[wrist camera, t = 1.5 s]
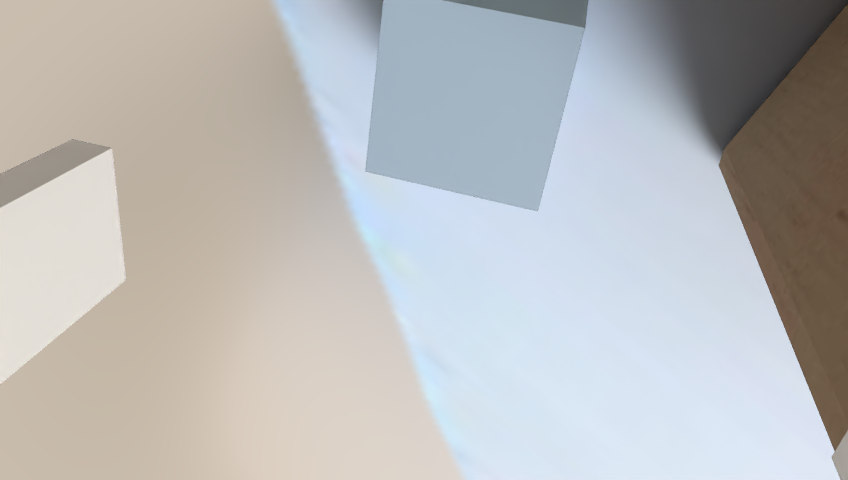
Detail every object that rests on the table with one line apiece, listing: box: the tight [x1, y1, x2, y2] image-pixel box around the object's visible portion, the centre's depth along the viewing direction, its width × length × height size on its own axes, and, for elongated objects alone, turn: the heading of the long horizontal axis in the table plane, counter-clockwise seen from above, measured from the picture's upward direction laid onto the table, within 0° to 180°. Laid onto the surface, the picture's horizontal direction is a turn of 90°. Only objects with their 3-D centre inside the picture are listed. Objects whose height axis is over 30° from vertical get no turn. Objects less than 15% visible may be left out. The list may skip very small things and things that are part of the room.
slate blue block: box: [365, 0, 588, 211], centre depth 25 cm, size 6×6×9 cm
